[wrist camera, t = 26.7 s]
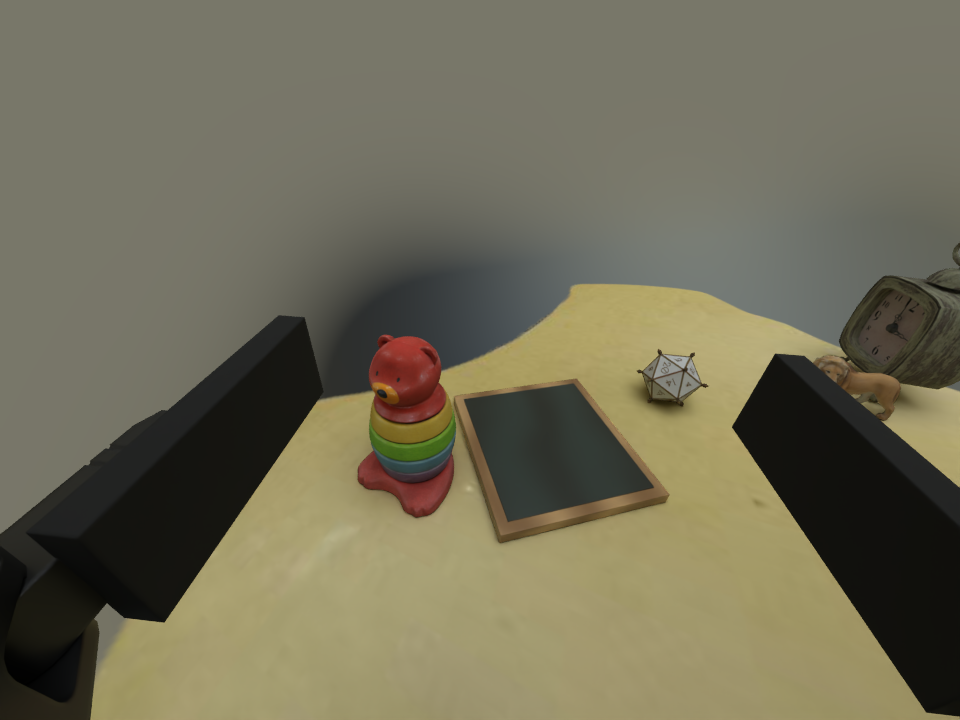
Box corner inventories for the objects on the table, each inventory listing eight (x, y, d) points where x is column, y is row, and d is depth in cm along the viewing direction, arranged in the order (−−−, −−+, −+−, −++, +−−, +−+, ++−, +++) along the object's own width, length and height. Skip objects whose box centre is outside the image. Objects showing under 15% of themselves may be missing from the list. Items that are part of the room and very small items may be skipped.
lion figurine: (801, 415, 56) (836, 366, 51) (780, 393, 60) (810, 346, 55) (901, 422, 55) (946, 374, 50) (872, 399, 60) (911, 353, 55)
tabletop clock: (821, 358, 70) (915, 221, 56) (877, 367, 68) (988, 228, 54) (867, 406, 58) (999, 249, 44) (935, 418, 56) (1095, 259, 42)
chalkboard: (575, 385, 59) (577, 377, 59) (665, 502, 42) (670, 493, 41) (453, 403, 55) (453, 394, 54) (499, 543, 37) (500, 534, 36)
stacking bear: (349, 479, 43) (319, 349, 33) (406, 427, 50) (395, 308, 40) (425, 525, 38) (415, 392, 28) (474, 460, 46) (481, 337, 36)
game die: (663, 424, 58) (696, 412, 49) (618, 389, 60) (642, 371, 51) (694, 384, 60) (732, 365, 51) (650, 351, 62) (679, 326, 53)
